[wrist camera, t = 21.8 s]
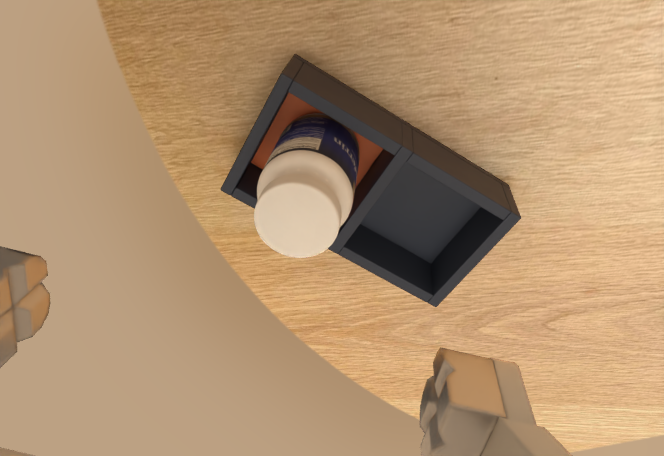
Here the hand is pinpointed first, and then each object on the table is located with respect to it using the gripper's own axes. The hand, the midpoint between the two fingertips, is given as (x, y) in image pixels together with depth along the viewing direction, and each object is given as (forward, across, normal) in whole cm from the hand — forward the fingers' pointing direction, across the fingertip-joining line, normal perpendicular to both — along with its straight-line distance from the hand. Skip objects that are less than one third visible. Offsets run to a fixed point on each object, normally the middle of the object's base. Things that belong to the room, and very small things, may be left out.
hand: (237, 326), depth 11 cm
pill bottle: (+26, -1, -5) cm, 27 cm away
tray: (+27, +3, -6) cm, 28 cm away
